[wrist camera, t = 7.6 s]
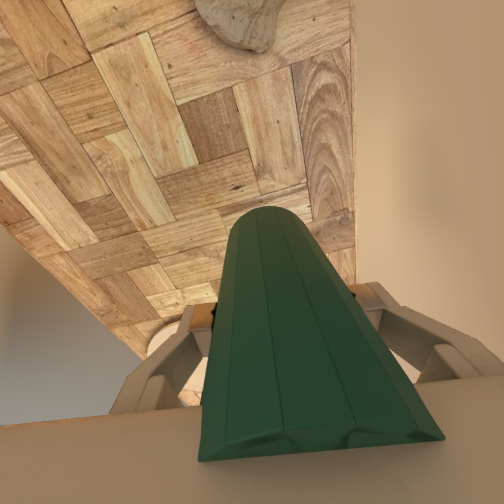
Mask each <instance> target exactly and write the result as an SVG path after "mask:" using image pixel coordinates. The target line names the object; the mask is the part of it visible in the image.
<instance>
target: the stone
mask: <svg viewBox="0 0 504 504" xmlns="http://www.w3.org/2000/svg"><path fill="white" fill-rule="evenodd" d="M284 1H285V0H194V3H195V6H196V8H197V10H198V12H199V13H200V15H201V17H202V19H203V20H204V21H206V22H207V24H208V26H210V27H211V28H212V29H213V31H214V32H215V33H216V34H217V35H218V36H219V37H220V38H221V39H222V40H223V41H224V42H226V43H227V44H229V45H231V46H233V47H235V48H238V49H251V50H254V51H256V52H257V53H262V52H267V51H268V50H269V49H270V47H271V46H272V43H273V41H274V38H275V26H276V17H277V14H278V11H279V10H280V8H281V6H282V5H283V3H284Z"/></svg>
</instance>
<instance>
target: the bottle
mask: <svg viewBox="0 0 504 504" xmlns="http://www.w3.org/2000/svg"><path fill="white" fill-rule="evenodd" d="M200 405H202V420H201V439H200V445H199V451H198V458H197V460H198V462H207V461H219V460H230V459H241V458H252V457H263V456H275V455H286V454H297V453H308V452H320V451H331V450H342V449H353V448H365V447H376V446H387V445H398V444H410V443H421V442H432V441H443V440H445V439H446V437H445V435H444V434H443V432H442V431H441V429H440V428H439V426H438V425H437V423H436V422H435V421H434V419H433V418H432V416H431V414H430V413H429V411H428V409H427V408H426V406H425V404H424V402H423V401H422V399H421V397H420V396H419V394H418V392H417V390H416V389H415V387H414V385H413V384H412V382H411V381H410V380H409V378H408V376H407V375H406V374H405V372H404V371H403V369H402V368H401V366H400V365H399V363H398V362H397V360H396V359H395V357H394V356H393V354H392V353H391V351H390V350H389V348H388V347H387V345H386V344H385V342H384V341H383V339H382V338H381V336H380V335H379V333H378V332H377V330H376V329H375V328H374V326H373V325H372V323H371V322H370V320H369V319H368V317H367V316H366V314H365V313H364V311H363V310H362V308H361V307H360V305H359V304H358V302H357V301H356V299H355V298H354V296H353V295H352V293H351V292H350V291H349V289H348V288H347V286H346V285H345V283H344V282H343V280H342V279H341V277H340V276H339V274H338V273H337V271H336V270H335V268H334V267H333V265H332V264H331V262H330V261H329V259H328V258H327V256H326V255H325V254H324V252H323V251H322V249H321V248H320V246H319V245H318V243H317V242H316V240H315V239H314V237H313V236H312V234H311V233H310V231H309V230H308V228H307V227H306V225H305V224H304V222H303V221H302V220H300V218H299V217H298V216H297V215H295V214H294V213H292V212H291V211H289V210H287V209H284V208H281V207H276V206H264V207H259V208H256V209H253V210H251V211H249V212H247V213H246V214H244V215H243V216H241V217H240V218H239V219H238V220H237V221H236V223H235V224H234V226H233V227H232V229H231V231H230V234H229V239H228V243H227V249H226V254H225V260H224V266H223V272H222V278H221V284H220V290H219V296H218V302H217V308H216V313H215V320H214V325H213V331H212V337H211V343H210V349H209V355H208V360H207V366H206V372H205V378H204V384H203V390H202V396H201V402H200Z"/></svg>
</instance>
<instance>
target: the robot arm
mask: <svg viewBox="0 0 504 504" xmlns="http://www.w3.org/2000/svg"><path fill="white" fill-rule="evenodd" d="M347 288H348V289H349V291H350V292H351V293H352V295H353V296H354V298H355V299H356V301H357V302H358V304H359V305H360V307H361V308H362V310H363V311H364V313H365V314H366V316H367V317H368V319H369V320H370V322H371V323H372V325H373V326H374V328H375V329H376V330H377V332H378V333H379V335H380V336H381V338H382V339H383V341H384V342H385V344H386V345H387V347H388V348H389V349H391V350H392V351H393V352H395V353H396V354H397V355H399V356H400V357H401V358H403V359H404V360H405V361H407V362H408V363H409V364H411V365H412V366H413V367H415V368H416V369H417V370H419V371H420V372H421V373H420V375H419V377H418V379H417V382H416V383H414V384H413V385H414V387H415V389H416V390H417V392H418V394H419V396H420V397H421V399H422V401H423V402H424V404H425V406H426V408H427V409H428V411H429V413H430V414H431V416H432V418H433V419H434V421H435V422H436V423H437V425H438V426H439V428H440V429H441V431H442V432H443V434H444V435H445V437H446V439H445V440H443V441H432V442H421V443H410V444H398V445H387V446H376V447H365V448H353V449H342V450H331V451H320V452H308V453H297V454H286V455H275V456H263V457H252V458H241V459H230V460H219V461H207V462H198V460H197V458H198V451H199V445H200V439H201V420H202V405H199V406H189V407H184V405H183V404H182V402H181V401H180V399H179V398H178V394H179V393H180V392H181V390H182V389H183V387H184V386H185V384H186V383H187V381H188V380H189V378H190V377H191V375H192V374H193V372H194V371H195V369H196V368H197V367H198V365H199V364H200V362H201V361H202V359H203V357H208V355H209V349H210V343H211V337H212V331H213V325H214V320H215V313H216V308H217V302H214V303H204V304H197V305H187V306H186V307H185V309H184V312H183V315H182V318H181V320H180V323H179V326H178V329H177V332H176V333H175V334H172V335H171V336H170V337H169V338H168V339H167V340H166V341H165V342H164V343H162V344H161V345H160V346H159V347H158V348H157V349H156V350H155V351H154V352H153V353H152V354H151V355H150V356H149V357H148V358H147V359H146V360H145V361H144V362H142V363H141V365H139V366H138V367H137V368H136V369H135V370H134V371H133V372H132V373H131V374H130V375H129V376H128V377H127V378H126V380H125V382H124V384H123V386H122V388H121V390H120V392H119V394H118V396H117V398H116V400H115V402H114V404H113V406H112V408H111V410H110V412H109V414H108V415H101V416H91V417H82V418H71V419H61V420H51V421H42V422H32V423H22V424H13V425H2V426H0V504H504V363H503V362H502V361H501V360H500V359H499V358H498V357H497V356H495V355H494V354H493V353H492V352H491V351H490V350H489V349H487V348H486V347H485V346H484V345H483V344H482V343H481V342H479V341H478V340H477V339H475V338H473V337H471V336H469V335H466V334H464V333H462V332H460V331H458V330H456V329H453V328H451V327H449V326H447V325H445V324H443V323H440V322H438V321H436V320H434V319H432V318H429V317H427V316H425V315H423V314H421V313H419V312H416V311H414V310H412V309H410V308H407V307H406V306H400V305H399V304H398V303H397V302H396V300H394V298H393V297H392V296H391V295H390V294H389V293H388V292H387V291H386V290H385V289H384V288H383V287H382V285H381V284H380V283H378V282H371V283H365V284H356V285H349V286H347Z"/></svg>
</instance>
